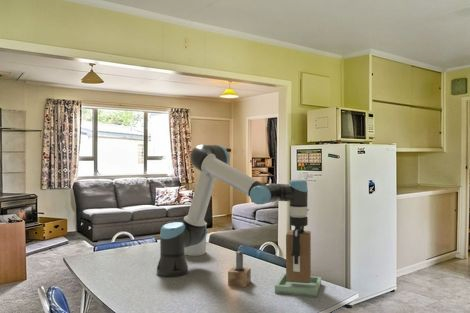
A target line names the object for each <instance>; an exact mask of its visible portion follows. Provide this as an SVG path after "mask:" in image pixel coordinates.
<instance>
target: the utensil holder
mask: <svg viewBox="0 0 470 313" xmlns="http://www.w3.org/2000/svg"><path fill="white" fill-rule="evenodd" d="M205 225H206V227H207V226H208V222H206V224H205ZM206 252H207V237H206V238H205V239H204V240H203V241H202V242H201V243H199V244H197V245H192V246H189V247H185V251H184V255H185V256H190V257H192V256H195V257H197V256H202V255H205V254H206Z"/></svg>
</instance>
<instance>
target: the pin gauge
mask: <svg viewBox="0 0 470 313" xmlns="http://www.w3.org/2000/svg"><path fill="white" fill-rule="evenodd" d="M235 254H236V255H235V256H236V257H235V259H236V260H235V261H236V262H235V267H236V271H243V267H244V251H243V250H236V252H235Z"/></svg>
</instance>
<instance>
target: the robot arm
mask: <svg viewBox="0 0 470 313" xmlns="http://www.w3.org/2000/svg"><path fill="white" fill-rule="evenodd" d="M228 152H229V151H228V150H227V149H226V148H225V147H224V146H222V145H218V144H199V145H195V147H194V148H193V149H192V150H191V152H190V155H189V159H190V162H191V165H192V166H193V168H195V169H197V170H198V171H199V175H198V179H197V182H196V185H195V189H194V193H193V196H192V200H191V203H190V206H189V210H188V214H187V215H185V216H184V217H183V220H182V221H181V222H180V221H173V222H168V223H166V224H163V225H162V226H161V228H160V234H159V238H160V239H159V242H160V243H159V244H160V245H159V246H160V247H159V248H160V249H159V250H160V252H159V254H160V257H159V261H158V264H157V267H156V275H158V276H161V277H168V278H169V277H171V278H173V277H181V276H184V275H186V274H188V273H189V266H188V263H187V260H186V255H185V254H184V251H185V247H189V246H192V245H197V244H199V243H201V242H202V241H203V240H204V239H205V238H206V239H207V235H208V229H207V226H206V225H205V224H206V223H207V222H206V220H205V216H206V213H207V211H208V206H209V204H210V200H211V197H212V193H213V190H214V186H215V184H216V181H217V179H218V180H220V181H222V182H223V183H225V184H227V185H229V186H231V187H232V188H233V189H236V191H237V190H238V191H239V192H241V193H243V195H246V196H248V197H249V199H250V200H251V202H252V203H253V204H255V205H265V204H270V203H274V202H289V215H290V216H289V225H290V226H291V227H294V229H293V230H294V231H293V251H292V254H291V256H293V271H295V272H300V256H299V255H300V245H299V237H300V234H303V232H304V231H305V227H307V226H308V225H309V224H308V222H309V221H308V220H309V218H308V212H309V211H310V209H309V208H308V200H309V199H308V196H309V194H308V192H309V190H308V189H309V188H308V182H307V180H305V179H291V180H289V183H287V184H285V183H275V182H273V183H267V184H264V183H262V182H261V181H258V180H257V179H255V178H253V177H252V176H249V175H248V174H246V173H244V172H242V171H241V170H239V169H237V168H235V167H233V166H231V165H229V163H230V154H229V153H228ZM296 236H297V237H296ZM295 252H297V253H295Z"/></svg>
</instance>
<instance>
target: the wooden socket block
mask: <svg viewBox="0 0 470 313" xmlns="http://www.w3.org/2000/svg"><path fill="white" fill-rule="evenodd" d="M251 271H252V269H251V267H244V266H243V271H236V266H233V267H231V268H230V269H229V270H228V272H227V285H228V286H233V287H241V288H242V287H243V288H246V287H247V286H248V285H249V284H250V282H251V281H252V280H251V278H252V277H251V276H252V274H251Z"/></svg>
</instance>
